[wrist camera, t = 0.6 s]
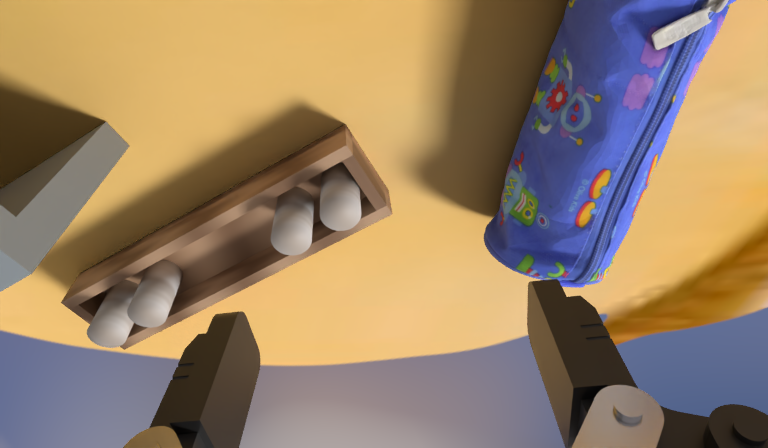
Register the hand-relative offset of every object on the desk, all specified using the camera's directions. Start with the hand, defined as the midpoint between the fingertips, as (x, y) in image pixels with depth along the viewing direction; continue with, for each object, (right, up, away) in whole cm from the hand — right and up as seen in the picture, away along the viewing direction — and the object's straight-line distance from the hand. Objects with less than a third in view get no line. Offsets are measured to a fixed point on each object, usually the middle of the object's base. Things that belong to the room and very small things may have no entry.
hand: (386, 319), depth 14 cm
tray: (-12, +2, +23) cm, 26 cm away
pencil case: (+13, +12, +20) cm, 26 cm away
